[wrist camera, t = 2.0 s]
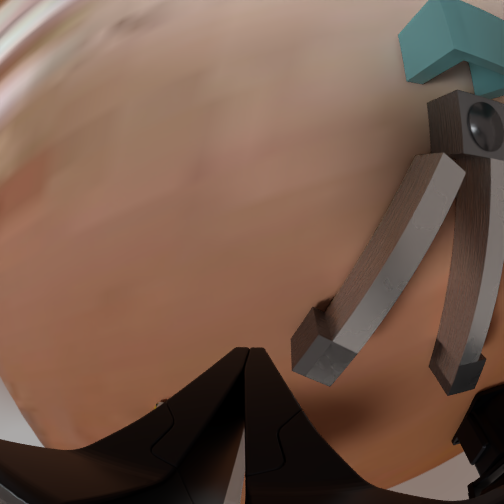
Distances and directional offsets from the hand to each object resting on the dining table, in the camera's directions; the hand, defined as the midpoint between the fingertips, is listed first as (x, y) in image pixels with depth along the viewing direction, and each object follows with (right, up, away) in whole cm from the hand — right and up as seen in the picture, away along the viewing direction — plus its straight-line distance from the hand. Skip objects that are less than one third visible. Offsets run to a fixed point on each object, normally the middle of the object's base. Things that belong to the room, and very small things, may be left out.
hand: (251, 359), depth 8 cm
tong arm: (+6, +3, +6) cm, 9 cm away
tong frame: (+12, +3, +6) cm, 13 cm away
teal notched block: (+11, +14, +3) cm, 18 cm away
